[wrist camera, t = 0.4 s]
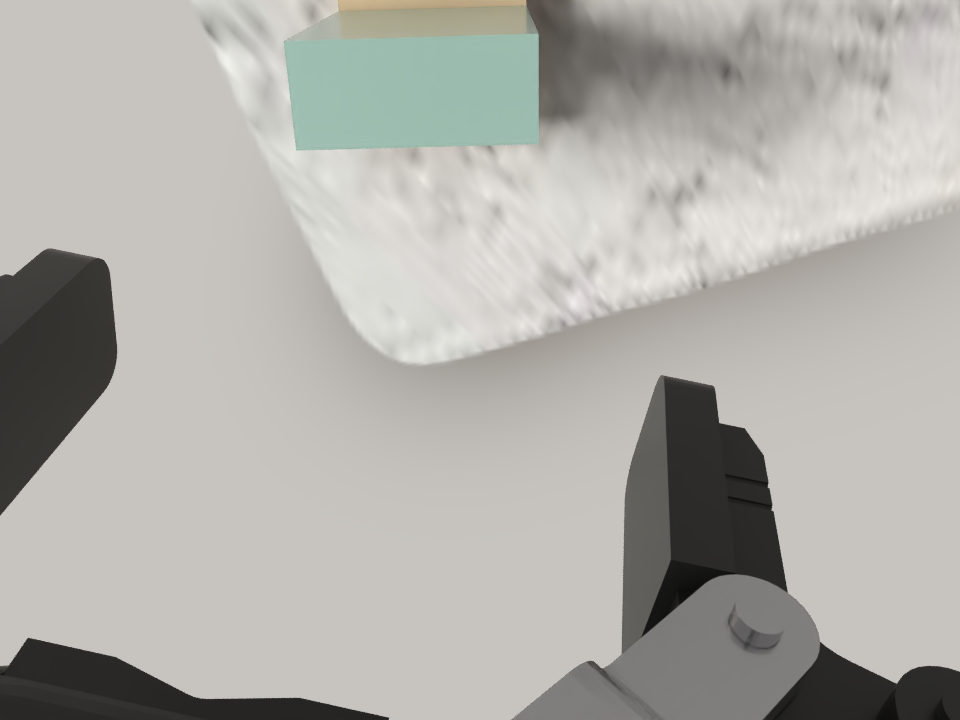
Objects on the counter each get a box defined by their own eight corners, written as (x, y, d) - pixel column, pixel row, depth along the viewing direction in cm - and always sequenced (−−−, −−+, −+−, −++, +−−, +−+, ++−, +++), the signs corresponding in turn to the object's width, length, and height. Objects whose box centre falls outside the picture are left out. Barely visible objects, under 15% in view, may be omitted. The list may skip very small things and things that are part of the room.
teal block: (339, 11, 34) (283, 41, 25) (526, 5, 34) (538, 33, 25) (346, 93, 36) (296, 150, 26) (526, 88, 35) (538, 143, 26)
